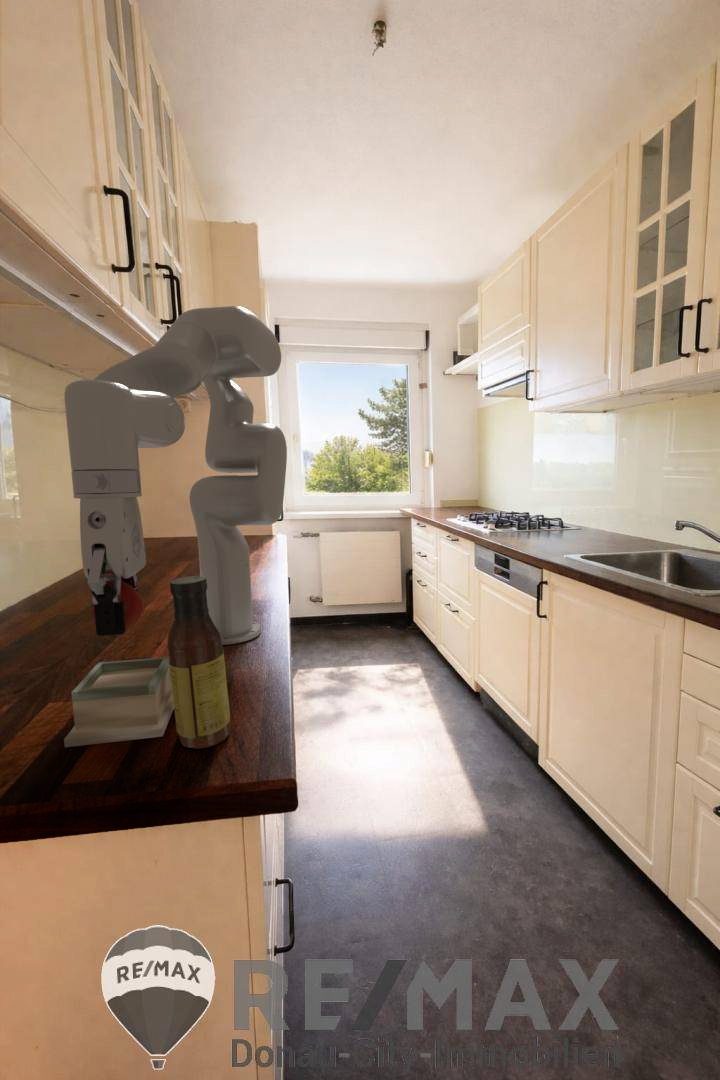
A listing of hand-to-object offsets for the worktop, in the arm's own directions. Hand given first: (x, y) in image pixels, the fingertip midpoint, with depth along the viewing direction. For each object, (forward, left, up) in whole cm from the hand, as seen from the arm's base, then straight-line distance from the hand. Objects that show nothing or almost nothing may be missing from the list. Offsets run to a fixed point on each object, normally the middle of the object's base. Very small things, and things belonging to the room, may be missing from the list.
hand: (119, 624), depth 62 cm
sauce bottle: (+7, +11, -13) cm, 18 cm away
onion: (0, 0, -2) cm, 2 cm away
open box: (0, 0, -13) cm, 13 cm away
